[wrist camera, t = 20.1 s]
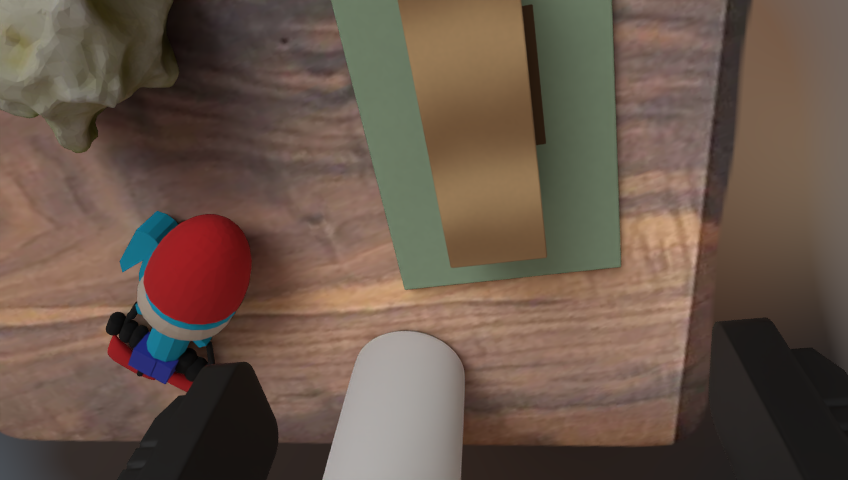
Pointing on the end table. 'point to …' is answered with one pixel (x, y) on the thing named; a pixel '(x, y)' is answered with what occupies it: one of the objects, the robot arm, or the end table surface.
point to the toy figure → (180, 294)
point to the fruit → (80, 60)
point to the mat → (554, 133)
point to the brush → (478, 126)
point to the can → (401, 412)
